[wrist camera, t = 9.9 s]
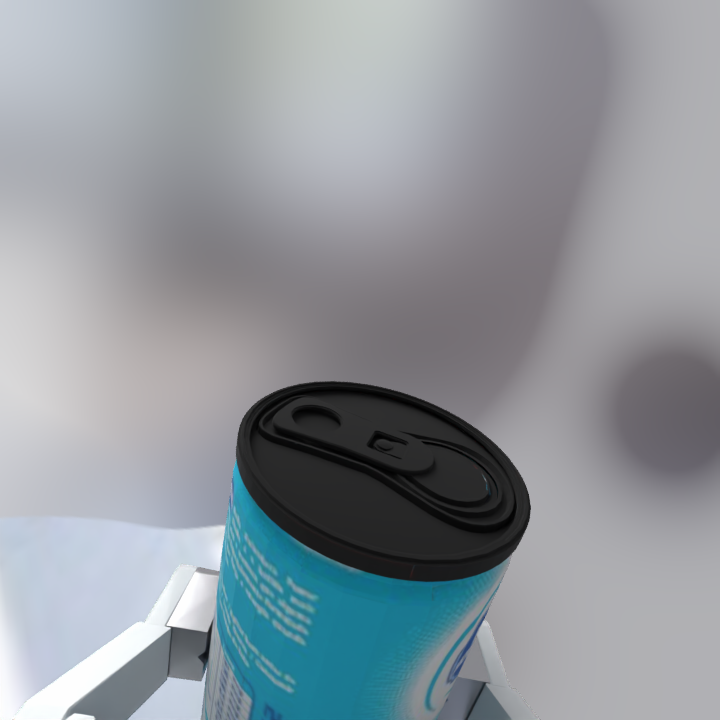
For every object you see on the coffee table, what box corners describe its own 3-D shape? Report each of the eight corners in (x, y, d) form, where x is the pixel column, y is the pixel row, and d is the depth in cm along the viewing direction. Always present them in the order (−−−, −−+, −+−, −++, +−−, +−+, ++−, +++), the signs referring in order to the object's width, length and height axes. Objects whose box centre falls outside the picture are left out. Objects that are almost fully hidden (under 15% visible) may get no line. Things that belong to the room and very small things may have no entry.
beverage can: (291, 1082, 8) (520, 670, 4) (141, 853, 10) (162, 430, 6) (390, 776, 13) (537, 445, 9) (274, 669, 16) (341, 365, 11)
